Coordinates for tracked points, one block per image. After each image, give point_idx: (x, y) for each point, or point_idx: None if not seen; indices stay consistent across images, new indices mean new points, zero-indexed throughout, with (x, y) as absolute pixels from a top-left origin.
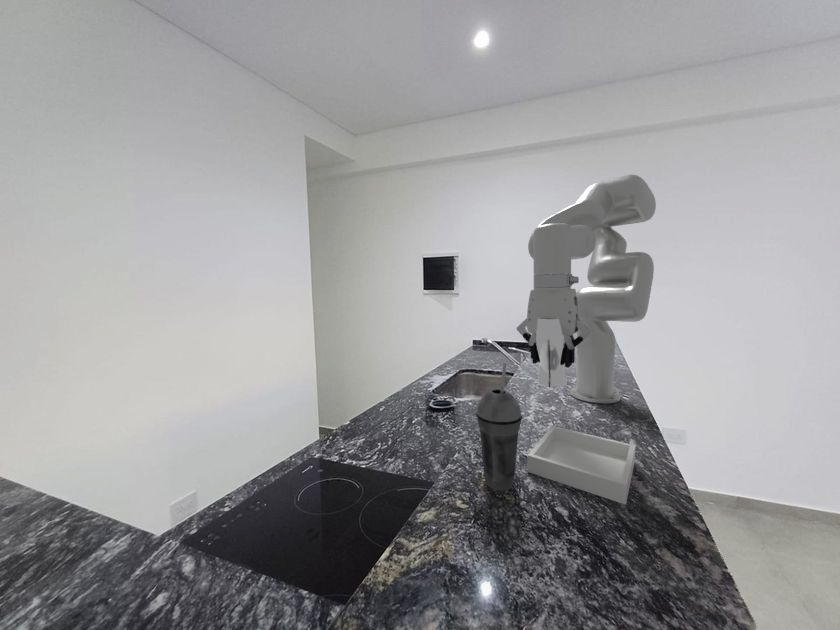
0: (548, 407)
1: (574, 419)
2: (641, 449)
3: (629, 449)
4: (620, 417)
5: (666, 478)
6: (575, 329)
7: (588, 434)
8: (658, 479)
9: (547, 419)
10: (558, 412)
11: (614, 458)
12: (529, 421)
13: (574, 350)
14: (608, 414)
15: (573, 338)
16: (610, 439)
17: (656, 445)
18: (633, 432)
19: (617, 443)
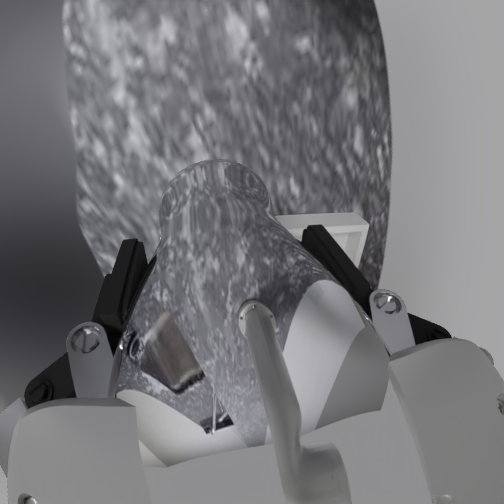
0: (155, 34)
1: (241, 75)
2: (368, 163)
3: (359, 244)
4: (335, 17)
5: (379, 234)
6: (473, 348)
7: (303, 229)
8: (371, 242)
9: (179, 117)
10: (190, 51)
11: (332, 234)
12: (146, 160)
13: (370, 293)
14: (310, 8)
15: (405, 346)
16: (337, 226)
17: (388, 135)
18: (361, 92)
19: (346, 232)
